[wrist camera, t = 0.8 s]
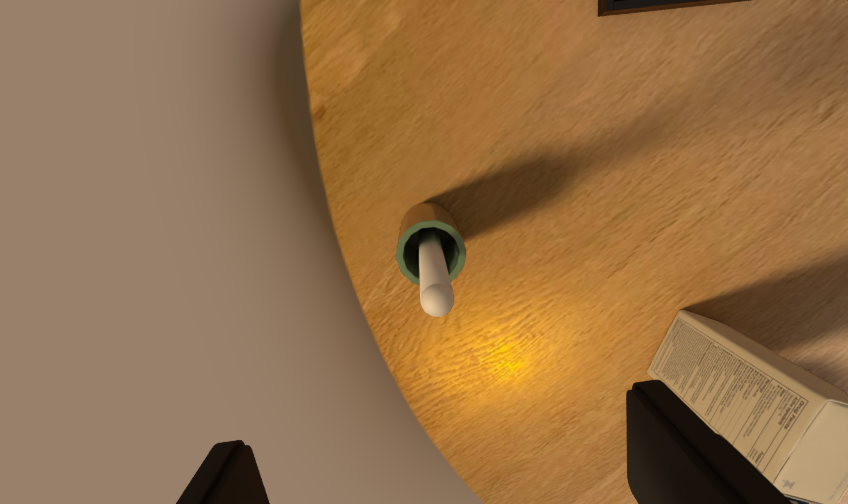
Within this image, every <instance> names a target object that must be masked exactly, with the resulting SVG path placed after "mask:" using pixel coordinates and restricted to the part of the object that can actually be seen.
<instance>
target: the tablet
mask: <svg viewBox="0 0 848 504" xmlns="http://www.w3.org/2000/svg"><path fill="white" fill-rule="evenodd" d="M741 1H750V0H598V17H600V16H609V15H619V14H628V13H637V12H647V11H656V10H665V9H675V8H684V7H694V6H703V5H712V4H722V3H731V2H741Z"/></svg>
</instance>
